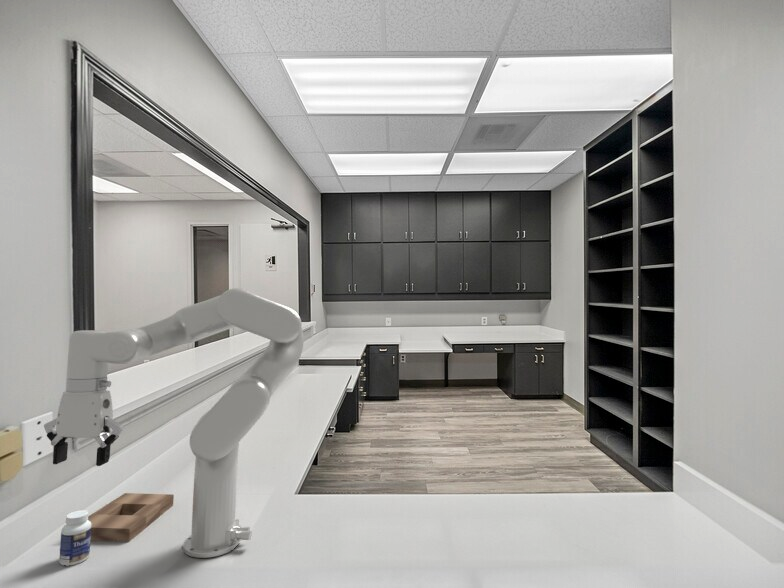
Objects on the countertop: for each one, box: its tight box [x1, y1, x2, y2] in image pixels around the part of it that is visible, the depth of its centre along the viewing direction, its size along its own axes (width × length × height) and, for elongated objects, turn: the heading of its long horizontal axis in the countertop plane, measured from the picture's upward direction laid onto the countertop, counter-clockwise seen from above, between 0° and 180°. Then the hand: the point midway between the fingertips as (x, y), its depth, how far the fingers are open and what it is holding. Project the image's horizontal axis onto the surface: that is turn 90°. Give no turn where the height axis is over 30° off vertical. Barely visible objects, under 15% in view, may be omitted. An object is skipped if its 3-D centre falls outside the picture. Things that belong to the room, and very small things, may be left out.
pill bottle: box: [58, 509, 91, 567], centre depth 94 cm, size 5×5×10 cm
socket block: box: [87, 492, 175, 543], centre depth 112 cm, size 14×20×3 cm
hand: (81, 463), depth 96 cm, fingers open, 9 cm apart
